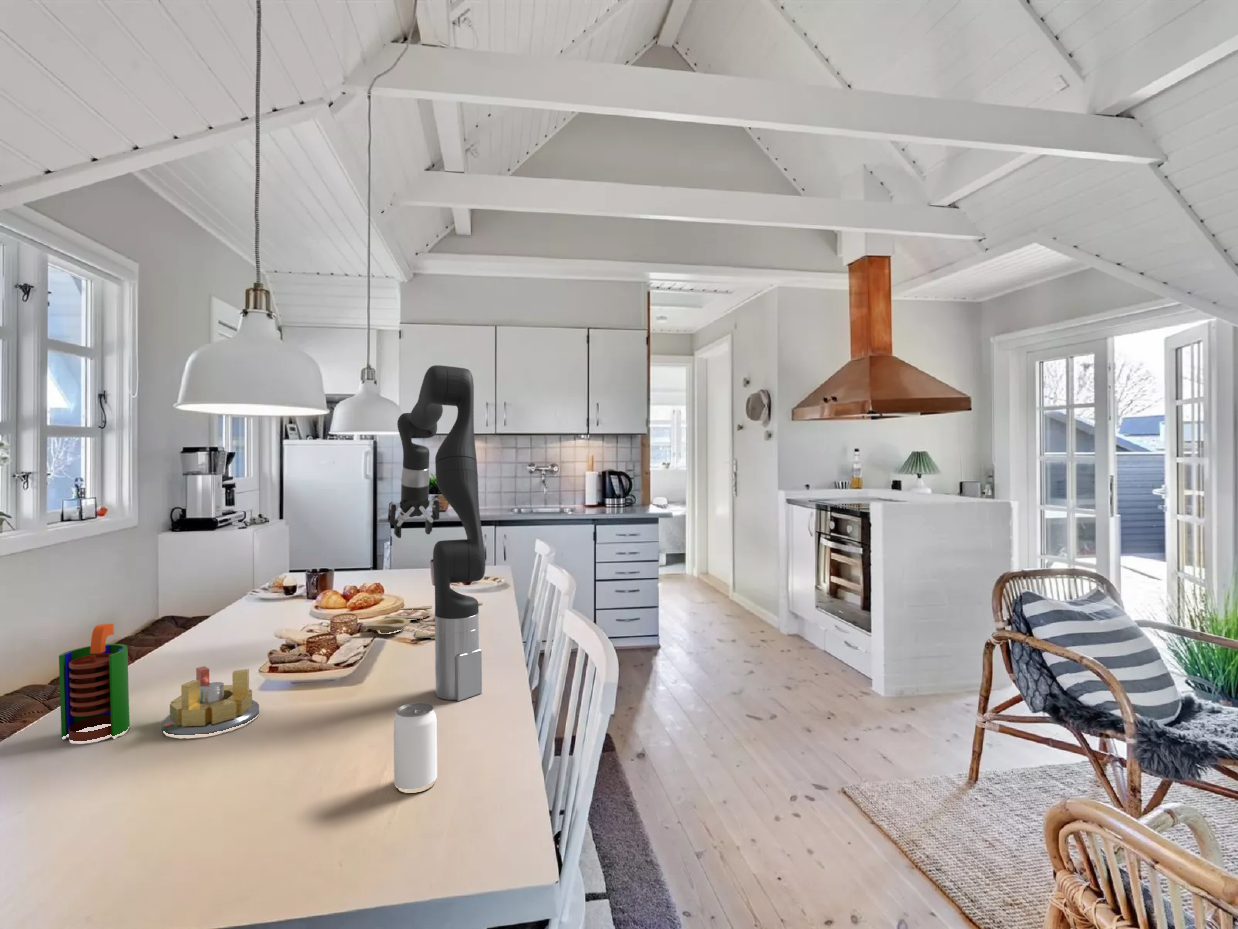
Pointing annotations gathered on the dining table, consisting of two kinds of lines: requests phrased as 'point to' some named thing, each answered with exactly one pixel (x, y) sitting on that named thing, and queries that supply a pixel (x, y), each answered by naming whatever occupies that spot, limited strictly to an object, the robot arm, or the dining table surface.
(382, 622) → the tableware set
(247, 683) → the wooden blocks on tray
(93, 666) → the motor
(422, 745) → the can
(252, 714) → the rotating turntable
